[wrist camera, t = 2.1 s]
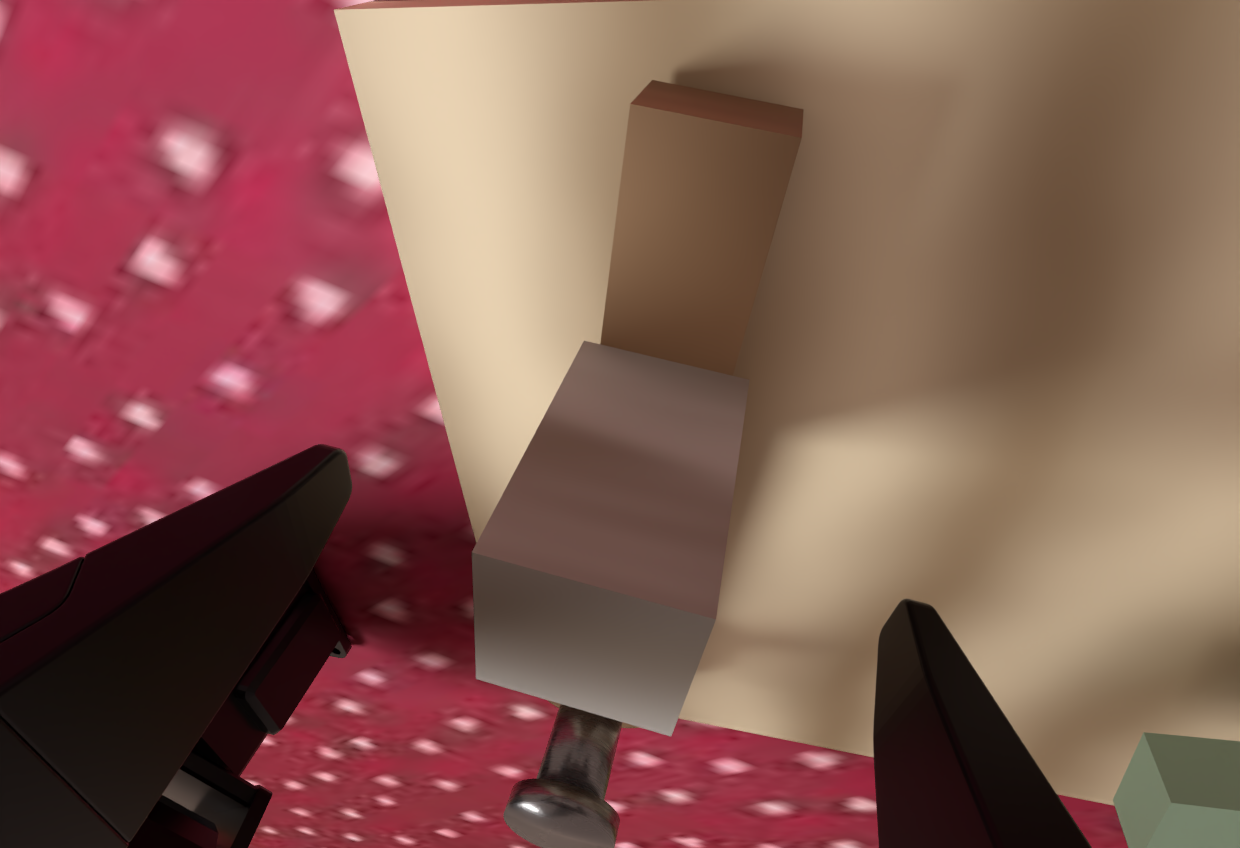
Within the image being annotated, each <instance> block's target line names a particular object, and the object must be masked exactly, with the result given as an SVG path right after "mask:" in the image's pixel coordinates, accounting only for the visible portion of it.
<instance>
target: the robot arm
mask: <svg viewBox="0 0 1240 848" xmlns="http://www.w3.org/2000/svg"><path fill="white" fill-rule="evenodd" d="M351 492H352V480H351V475H350V470H349V465H348V460H347V455H346V453H345V452H344V450H342V449H340V448H336V447H332V446H329V445H325V444H318V445H315V446H313V447H310V448H308V449H306V450H304V451H302V452H300V453H298V454H296V455H294V456H292V457H289V458H287V459H285V460H283V461H281V462H279V463H277V464H275V465H273V466H271V467H268V468H266V469H264V470H262V471H260V472H258V473H256V474H254V475H252V476H249V477H247V478H245V479H243V480H241V481H239V482H237V483H235V484H233V485H231V486H228V487H226V488H224V489H222V490H220V491H218V492H216V493H214V494H212V495H210V496H207V497H205V498H203V499H201V500H199V501H197V502H195V503H193V504H191V505H189V506H186V507H184V508H182V509H180V510H178V511H176V512H174V513H172V514H170V515H168V516H165V517H163V518H161V519H159V520H157V521H155V522H153V523H151V524H149V525H146V526H144V527H142V528H140V529H138V530H136V531H134V532H132V533H130V534H128V535H125V536H123V537H121V538H119V539H117V540H115V541H113V542H111V543H109V544H107V545H104V546H102V547H100V548H98V549H96V550H94V551H92V552H90V553H88V554H86V556H85V558H84V557H79V558H77V559H75V560H73V561H70V562H68V563H66V564H64V565H62V566H60V567H58V568H56V569H54V570H51V571H49V572H47V573H45V574H43V575H41V576H38V577H36V578H34V579H32V580H30V581H27V582H25V583H23V584H21V585H19V586H16V587H14V588H12V589H10V590H8V591H5V592H3V593H0V848H248V846H249V844H250V842H251V840H252V838H253V836H254V833H255V831H256V829H257V827H258V825H259V823H260V820H261V818H262V816H263V814H264V812H265V810H266V807H267V805H268V803H269V801H270V799H271V797H272V792H271V791H269V790H267V789H265V788H264V787H262V786H260V785H256V786H254V785H252V784H251V783H249V782H247V781H246V780H244V779H242V778H241V777H240V775H241V774H242V772H243V771H244V769H245V767H246V766H247V764H248V763H249V761H250V760H251V758H252V757H253V755H254V754H255V752H256V751H257V749H258V748H259V746H260V745H261V743H262V742H263V740H264V739H265V737H266V736H267V734H272V735H274V734H276V733H278V732H279V731H280V730H281V729H282V728H283V727H284V725H285V724H286V722H287V721H288V719H289V718H290V716H291V714H292V713H293V711H294V710H295V708H296V707H297V705H298V704H299V702H300V701H301V699H302V697H303V696H304V694H305V693H306V691H307V690H308V688H309V687H310V685H311V684H312V682H313V680H314V679H315V677H316V676H317V674H318V673H319V671H320V670H321V668H322V666H323V665H324V663H325V662H326V660H327V659H328V657H329V656H333V657H338V658H344V657H346V655H347V654H348V652H349V650H350V649H351V647H352V646H351V643H350V641H349V639H348V637H347V635H346V634H345V632H344V630H343V628H342V626H341V624H340V622H339V620H338V618H337V616H336V614H335V612H334V610H333V608H332V606H331V604H330V602H329V600H328V598H327V596H326V595H325V593H324V591H323V589H322V587H321V585H320V583H319V581H318V579H317V577H316V575H315V573H314V571H313V567H314V565H315V563H316V561H317V559H318V557H319V556H320V554H321V552H322V550H323V548H324V546H325V544H326V542H327V540H328V538H329V536H330V534H331V533H332V531H333V529H334V527H335V525H336V523H337V521H338V519H339V517H340V515H341V513H342V511H343V510H344V508H345V506H346V504H347V502H348V500H349V498H350V495H351ZM873 753H874V770H875V787H876V804H877V821H878V838H879V848H1092V847H1091V846H1090V844H1089V843H1088V841H1087V839H1086V838H1085V836H1084V835H1083V833H1082V832H1081V830H1080V829H1079V827H1078V826H1077V824H1076V823H1075V821H1074V820H1073V818H1072V817H1071V815H1070V814H1069V812H1068V810H1067V809H1066V807H1065V806H1064V804H1063V803H1062V801H1061V800H1060V798H1059V797H1058V795H1057V794H1056V792H1055V791H1054V789H1053V788H1052V786H1051V785H1050V783H1049V782H1048V780H1047V778H1046V777H1045V775H1044V774H1043V772H1042V771H1041V769H1040V768H1039V766H1038V765H1037V763H1036V762H1035V760H1034V759H1033V757H1032V756H1031V754H1030V753H1029V751H1028V750H1027V748H1026V746H1025V745H1024V743H1023V742H1022V740H1021V739H1020V737H1019V736H1018V734H1017V733H1016V731H1015V730H1014V728H1013V727H1012V725H1011V724H1010V722H1009V721H1008V719H1007V717H1006V716H1005V714H1004V713H1003V711H1002V710H1001V708H1000V707H999V705H998V704H997V702H996V701H995V699H994V698H993V696H992V695H991V693H990V692H989V690H988V689H987V687H986V685H985V684H984V682H983V681H982V679H981V678H980V676H979V675H978V673H977V672H976V670H975V669H974V667H973V666H972V664H971V663H970V661H969V660H968V658H967V656H966V655H965V653H964V652H963V650H962V649H961V647H960V646H959V644H958V643H957V641H956V640H955V638H954V637H953V635H952V634H951V632H950V631H949V629H948V628H947V626H946V624H945V623H944V621H943V620H942V618H941V617H940V615H939V614H938V612H937V611H936V609H935V608H934V607H933V606H931V605H930V604H927V603H923V602H920V601H916V600H912V599H907V598H905V599H903V600H901V601H900V602H899V604H898V605H897V606H896V608H895V609H894V611H893V612H892V614H891V615H890V617H889V618H888V620H887V621H886V623H885V624H884V626H883V627H882V629H881V632H880V635H879V640H878V655H877V672H876V689H875V706H874V725H873Z"/></svg>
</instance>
